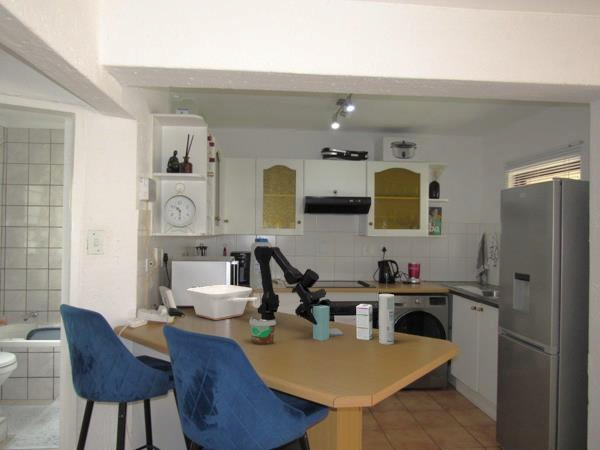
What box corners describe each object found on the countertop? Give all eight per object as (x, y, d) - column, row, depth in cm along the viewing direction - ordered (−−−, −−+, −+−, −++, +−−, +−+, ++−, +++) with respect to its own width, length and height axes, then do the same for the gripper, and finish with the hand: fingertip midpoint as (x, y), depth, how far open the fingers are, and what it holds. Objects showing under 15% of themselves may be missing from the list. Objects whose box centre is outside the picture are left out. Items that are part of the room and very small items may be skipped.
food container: (243, 343, 172) (243, 319, 173) (251, 339, 178) (251, 316, 178) (268, 347, 167) (268, 322, 167) (276, 343, 172) (276, 319, 172)
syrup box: (369, 340, 178) (369, 306, 178) (356, 338, 180) (356, 305, 181) (372, 337, 183) (372, 304, 183) (359, 335, 186) (359, 303, 186)
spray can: (390, 345, 170) (390, 296, 171) (375, 342, 174) (376, 295, 175) (396, 342, 176) (396, 294, 176) (382, 339, 180) (382, 293, 180)
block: (313, 338, 181) (313, 306, 181) (320, 336, 184) (320, 304, 184) (321, 340, 177) (321, 307, 177) (329, 338, 181) (329, 306, 181)
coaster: (321, 336, 185) (321, 334, 185) (316, 330, 195) (316, 329, 195) (343, 335, 186) (343, 333, 186) (337, 330, 196) (337, 328, 196)
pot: (225, 309, 246) (225, 284, 246) (276, 320, 216) (276, 292, 216) (182, 316, 225) (182, 288, 225) (232, 330, 195) (233, 298, 195)
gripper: (300, 284, 177) (319, 314, 169) (328, 281, 190) (347, 308, 183) (287, 301, 182) (305, 330, 174) (315, 296, 196) (333, 323, 188)
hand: (323, 322), depth 180 cm, fingers open, 9 cm apart
